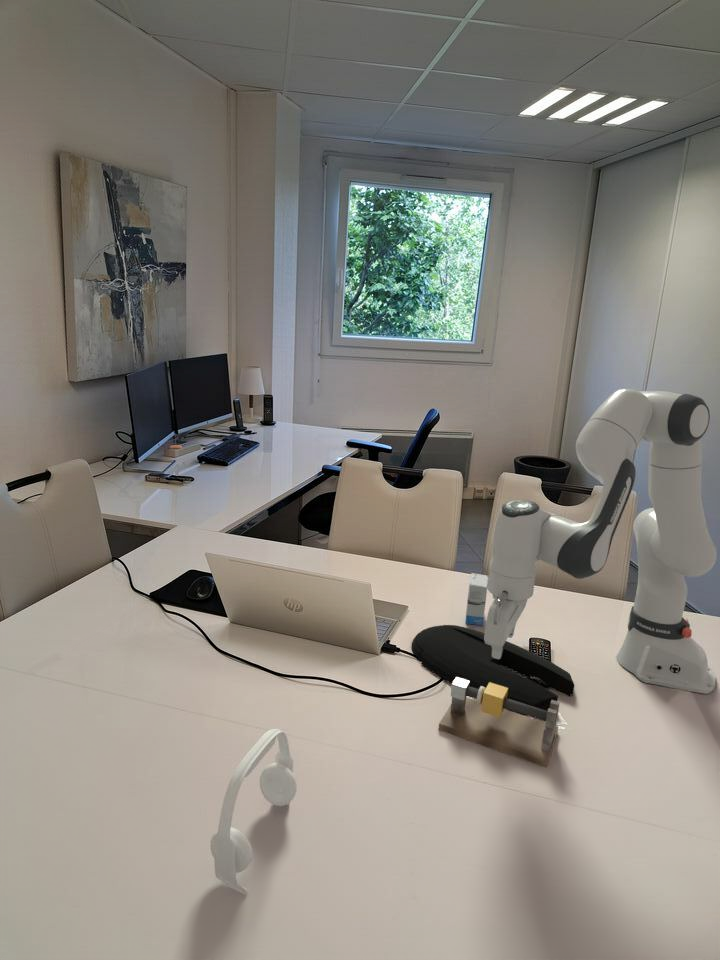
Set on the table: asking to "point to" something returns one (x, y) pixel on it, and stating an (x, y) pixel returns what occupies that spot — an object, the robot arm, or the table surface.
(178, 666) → the table surface
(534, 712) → the dark grey rod
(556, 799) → the table surface
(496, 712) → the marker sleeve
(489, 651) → the black u-shaped plate
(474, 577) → the ink box
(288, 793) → the headset
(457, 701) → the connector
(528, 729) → the slider rail assembly
